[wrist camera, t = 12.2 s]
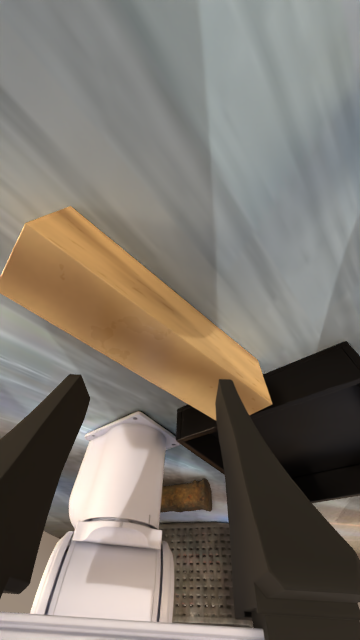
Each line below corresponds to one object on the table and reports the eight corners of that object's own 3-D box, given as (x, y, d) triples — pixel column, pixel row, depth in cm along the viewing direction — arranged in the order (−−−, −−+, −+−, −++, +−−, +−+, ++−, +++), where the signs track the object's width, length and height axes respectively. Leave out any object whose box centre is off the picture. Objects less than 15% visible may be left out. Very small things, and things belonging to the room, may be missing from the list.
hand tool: (206, 473, 34) (207, 512, 30) (212, 483, 36) (214, 521, 32) (97, 482, 38) (87, 518, 34) (109, 491, 40) (100, 526, 36)
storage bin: (236, 520, 47) (250, 629, 36) (242, 542, 58) (254, 631, 47) (110, 522, 51) (89, 619, 41) (138, 542, 62) (126, 623, 51)
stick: (220, 383, 22) (226, 427, 18) (40, 258, 15) (-7, 289, 11) (257, 360, 20) (272, 404, 16) (70, 205, 13) (24, 222, 9)
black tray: (267, 481, 35) (274, 509, 32) (177, 409, 24) (175, 441, 22) (395, 454, 28) (417, 486, 26) (346, 340, 18) (374, 373, 15)
